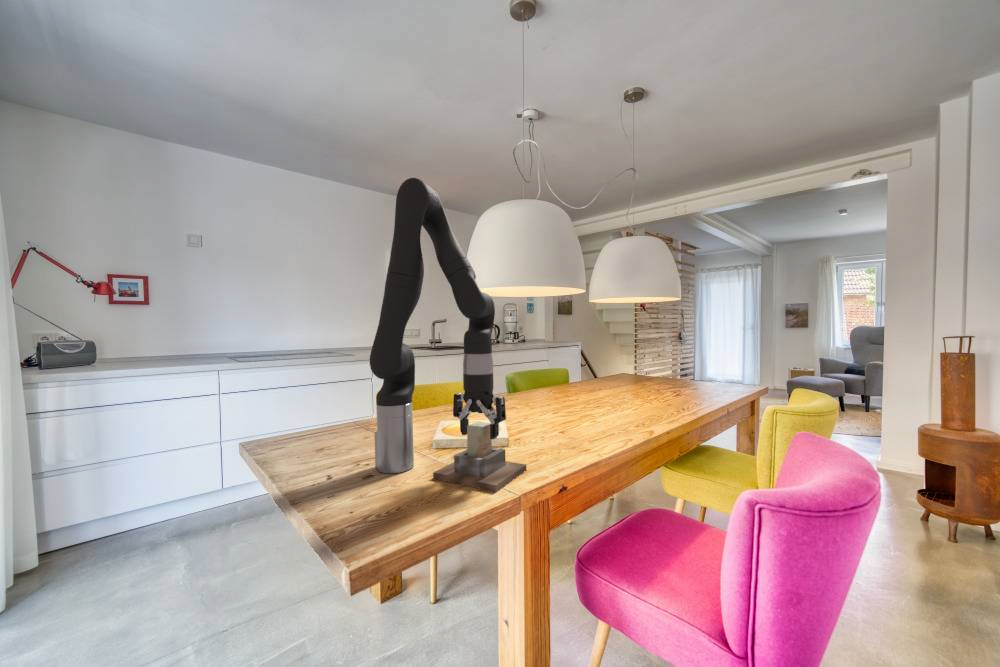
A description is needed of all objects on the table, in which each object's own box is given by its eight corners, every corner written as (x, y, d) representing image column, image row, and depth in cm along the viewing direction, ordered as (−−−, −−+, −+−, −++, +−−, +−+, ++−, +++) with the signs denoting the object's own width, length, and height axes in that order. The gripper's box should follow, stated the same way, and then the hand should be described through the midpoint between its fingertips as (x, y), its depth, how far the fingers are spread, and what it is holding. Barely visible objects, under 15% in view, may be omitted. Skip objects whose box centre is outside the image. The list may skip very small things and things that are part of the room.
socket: (433, 478, 95) (432, 456, 95) (468, 460, 108) (467, 440, 108) (496, 492, 86) (495, 467, 86) (526, 470, 99) (525, 448, 99)
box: (481, 473, 94) (480, 427, 94) (467, 470, 96) (465, 425, 96) (493, 466, 98) (491, 422, 98) (478, 463, 101) (477, 420, 101)
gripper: (510, 371, 97) (511, 436, 97) (463, 369, 104) (464, 429, 104) (494, 374, 90) (495, 444, 90) (446, 371, 97) (447, 436, 97)
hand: (479, 436), depth 97 cm, fingers open, 8 cm apart
